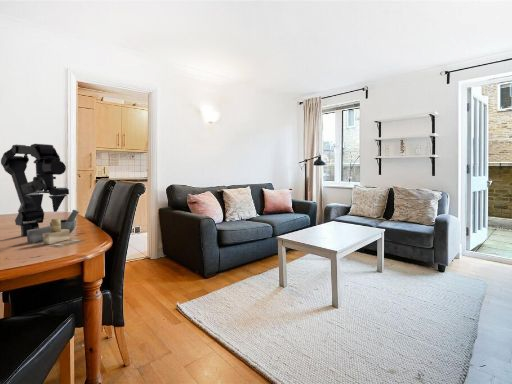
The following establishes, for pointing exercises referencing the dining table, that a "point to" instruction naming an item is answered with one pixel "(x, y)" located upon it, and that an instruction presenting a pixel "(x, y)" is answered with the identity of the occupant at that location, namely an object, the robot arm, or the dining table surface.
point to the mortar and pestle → (69, 221)
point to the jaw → (56, 233)
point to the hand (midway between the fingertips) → (46, 211)
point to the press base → (37, 238)
